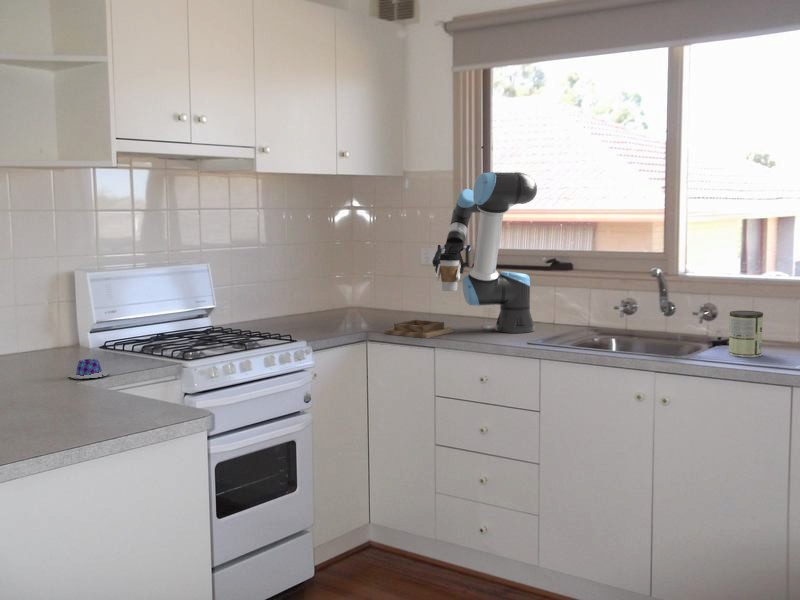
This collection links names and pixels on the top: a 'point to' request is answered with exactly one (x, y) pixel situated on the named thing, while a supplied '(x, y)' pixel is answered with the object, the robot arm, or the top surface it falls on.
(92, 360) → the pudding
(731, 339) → the coffee can
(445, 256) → the coffee cup
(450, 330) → the cup rack
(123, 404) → the top surface
